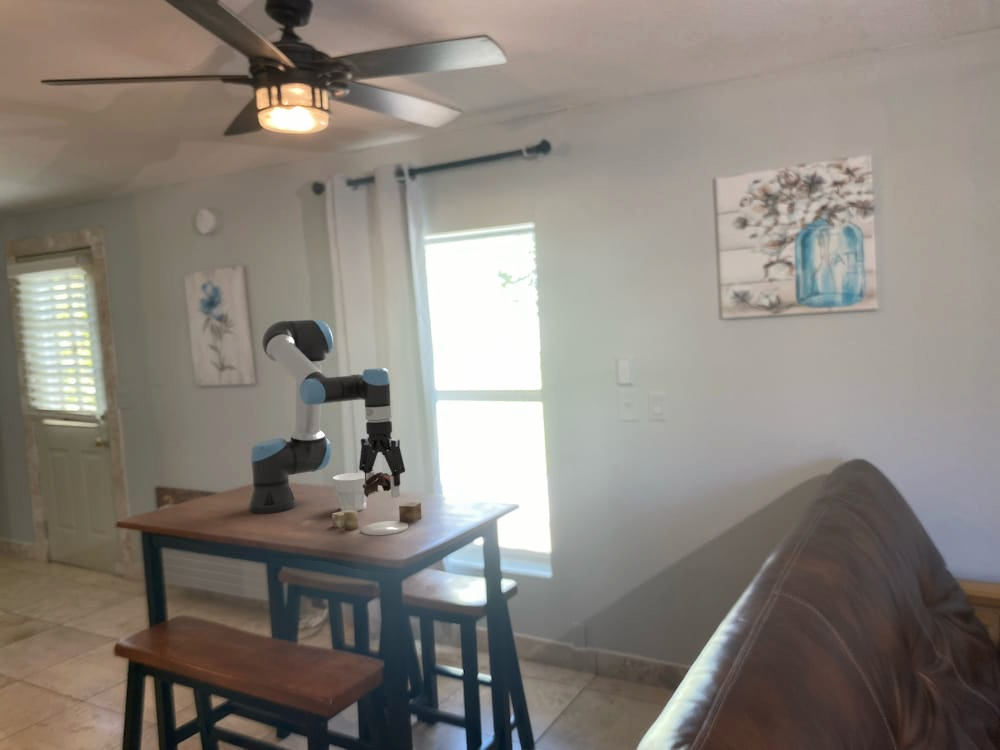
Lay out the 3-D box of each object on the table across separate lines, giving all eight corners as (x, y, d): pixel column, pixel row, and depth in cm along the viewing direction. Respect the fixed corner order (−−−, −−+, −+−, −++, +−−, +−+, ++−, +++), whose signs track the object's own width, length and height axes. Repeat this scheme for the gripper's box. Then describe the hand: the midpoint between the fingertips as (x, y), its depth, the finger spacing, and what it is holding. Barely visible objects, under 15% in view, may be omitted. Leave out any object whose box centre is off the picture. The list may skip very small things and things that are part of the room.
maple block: (332, 526, 224) (332, 513, 224) (349, 522, 228) (348, 509, 228) (340, 528, 221) (339, 515, 221) (356, 524, 226) (355, 511, 225)
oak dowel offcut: (342, 529, 220) (341, 512, 220) (351, 525, 223) (350, 509, 223) (351, 530, 218) (350, 514, 217) (361, 527, 221) (360, 511, 221)
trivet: (351, 531, 216) (351, 530, 216) (384, 520, 228) (384, 519, 228) (385, 537, 208) (385, 536, 208) (418, 525, 220) (418, 524, 220)
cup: (346, 515, 237) (344, 481, 236) (327, 509, 246) (325, 476, 245) (379, 507, 245) (377, 475, 244) (360, 502, 254) (358, 470, 253)
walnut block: (399, 521, 226) (398, 505, 225) (407, 517, 230) (406, 501, 230) (414, 522, 224) (413, 506, 224) (421, 518, 229) (420, 502, 228)
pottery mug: (398, 501, 212) (382, 479, 210) (371, 515, 214) (355, 493, 212) (405, 482, 223) (390, 461, 221) (379, 495, 225) (364, 474, 223)
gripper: (343, 421, 219) (348, 494, 220) (397, 423, 206) (401, 501, 208) (361, 418, 225) (366, 489, 226) (414, 419, 213) (419, 495, 214)
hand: (383, 495), depth 217 cm, fingers closed on pottery mug, 9 cm apart
